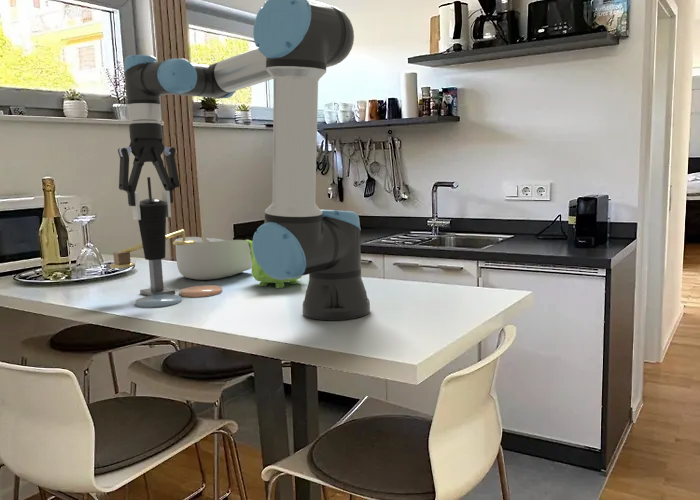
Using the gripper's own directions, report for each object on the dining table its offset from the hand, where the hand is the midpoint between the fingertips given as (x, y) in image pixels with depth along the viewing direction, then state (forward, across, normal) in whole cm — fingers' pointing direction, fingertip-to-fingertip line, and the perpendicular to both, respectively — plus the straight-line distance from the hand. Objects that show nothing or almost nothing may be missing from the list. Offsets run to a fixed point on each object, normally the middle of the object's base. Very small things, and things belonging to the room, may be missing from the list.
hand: (152, 218), depth 153 cm
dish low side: (+21, 0, 0) cm, 21 cm away
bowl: (+22, -27, -21) cm, 41 cm away
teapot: (+21, -33, +4) cm, 40 cm away
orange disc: (+21, -13, -2) cm, 25 cm away
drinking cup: (+10, 0, 0) cm, 10 cm away
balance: (+21, -4, -10) cm, 24 cm away
